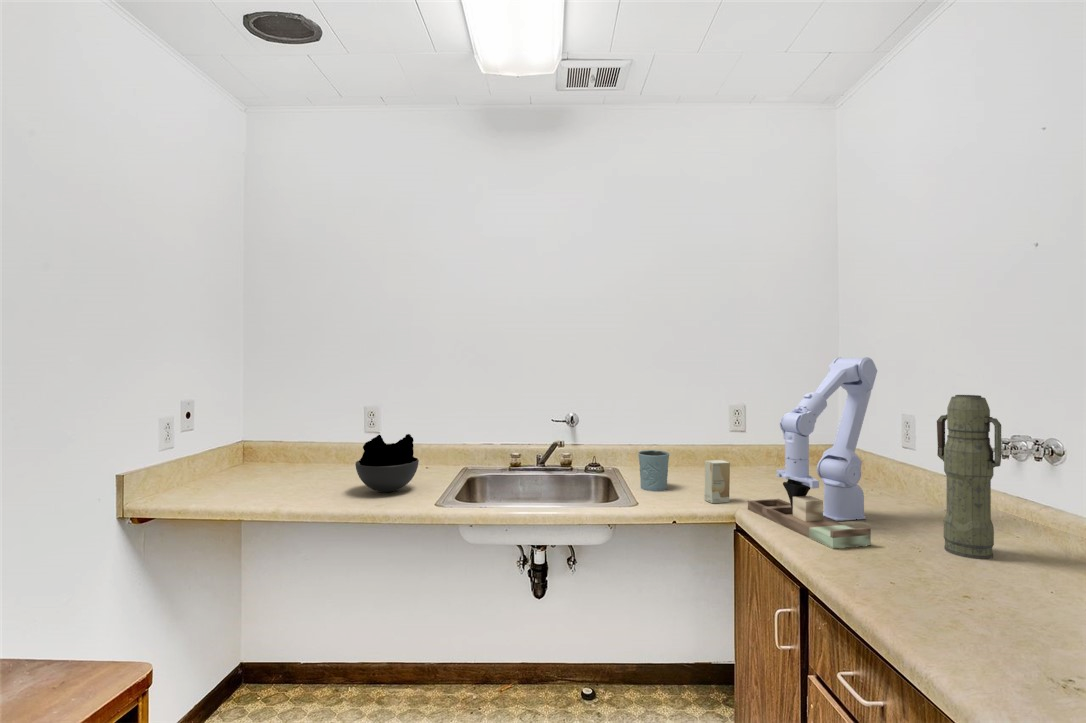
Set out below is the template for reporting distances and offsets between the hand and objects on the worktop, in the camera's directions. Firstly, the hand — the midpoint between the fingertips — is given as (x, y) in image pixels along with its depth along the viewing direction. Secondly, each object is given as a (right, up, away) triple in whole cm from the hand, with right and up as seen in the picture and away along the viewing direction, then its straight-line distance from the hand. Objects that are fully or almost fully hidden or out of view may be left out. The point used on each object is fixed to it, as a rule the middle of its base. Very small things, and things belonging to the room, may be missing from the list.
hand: (796, 509), depth 145 cm
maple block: (+1, -1, -4) cm, 4 cm away
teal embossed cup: (-30, -4, +40) cm, 50 cm away
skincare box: (-14, -4, +22) cm, 27 cm away
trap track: (0, -4, -2) cm, 4 cm away
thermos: (+28, -4, -22) cm, 36 cm away
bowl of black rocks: (-118, -4, +36) cm, 123 cm away
